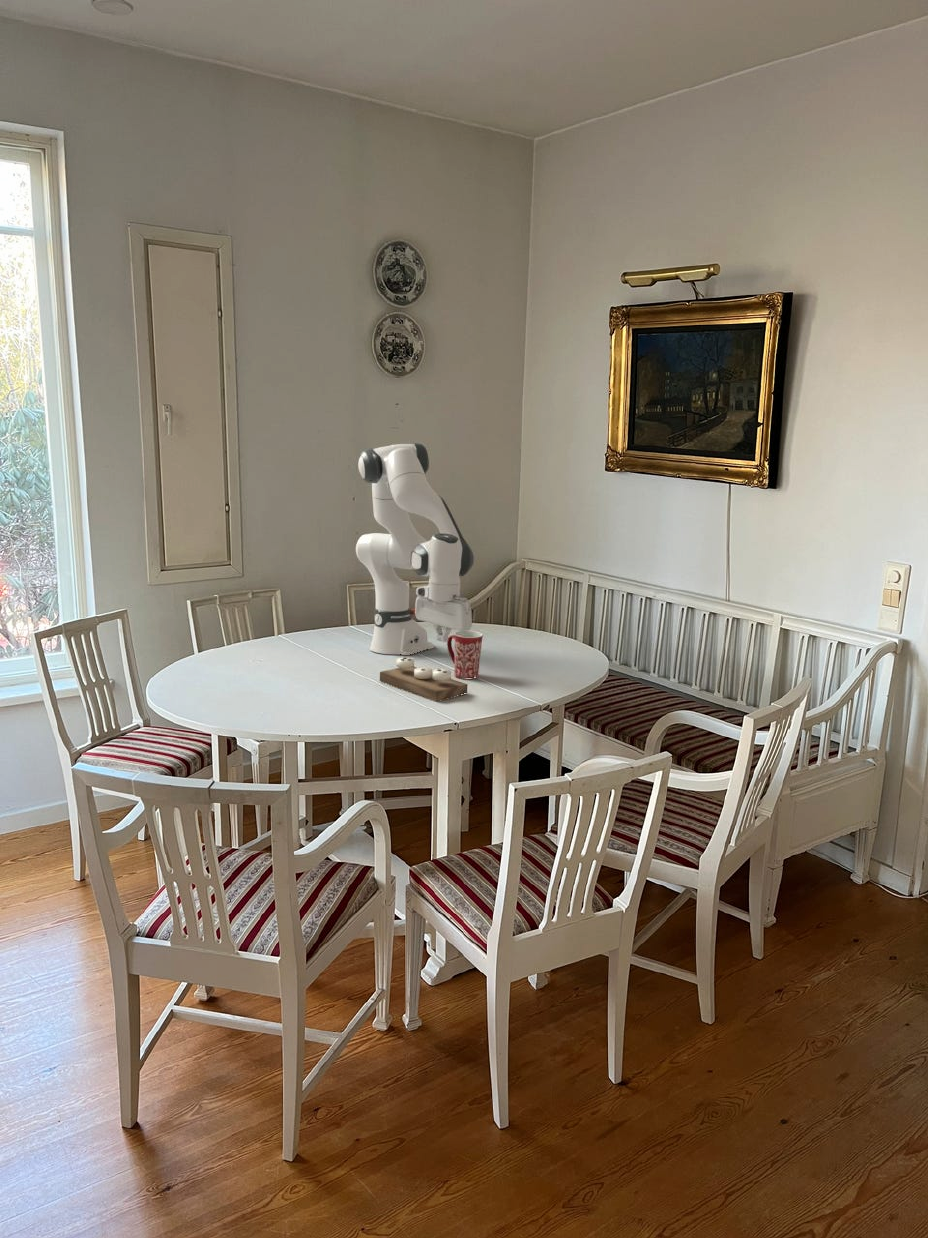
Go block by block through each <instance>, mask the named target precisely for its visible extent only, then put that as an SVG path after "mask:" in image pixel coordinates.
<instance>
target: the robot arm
mask: <svg viewBox="0 0 928 1238" xmlns="http://www.w3.org/2000/svg"><path fill="white" fill-rule="evenodd" d="M357 463H358V465H357V466H358V471H359V474H360V477H361V478H362V480H363V481H365V482H366V483H368V484H369V483H370V484H371V493H372V495H371V496H372V507H373V508H372V509H373V517H374V519H375V521H376V523H378V524H379V525H380V526H382V527H383V528H385V529H386V531H388V533H381V532H373V533H365V534H362V535H361V536H360V537H359V538H358V540H357V542H356V545H355V554H356V558H358V560H359V562H360V563H362V564H363V566H365V568H366V569H367V571H368V572H369V573H370V575H371V578H372V580H373V584H374V591H375V607H374V608H373V620H374V626H373V627H374V628H373V635H372V638H371V639H372V640H371V644H370V646H369V650H370V651H372V652H374V653H378V654H382V655H400V654H401V656H411V655H414V653H415V654H417V652H418V653H421V652H424V651H423V650H425V651H427V650H426V649H428V650H430V649H431V650H432V649H435V644H434V643H433V642H431V641H429V640H428V633H427V630H426V629H425V627H423V626H422V625H421V624H419V623H418V622H417V621H416V620H414V618H413V616H415V618H416V619H417V620H419V621H421V622H425V623H429V624H433V629H434V631H435V633H436V641H440V642H443V643H447V641H448V638H449V636H450V633H451V632H452V630H455V631H467V630H468V631H471V628H472V627H473V626H472V625H473V622H472V621H473V617H472V610H471V603H470V601H469V600H468V598H467V597H465V596H460V595H461V594H460V593H461V578H460V577H464V576H465V575H467V574H468V573H469V571H470V570H471V569H472V568H473V565H474V561H475V559H474V558H475V557H474V553H473V550H472V548H471V546H470V545H469V544H468V543H467V541H466V540H465V538H464V536H463V534H462V533H461V531H460V528H459V526H458V525H457V522H456V520H455V518H454V516H453V514H452V512H451V510H450V508H449V506H448V504H447V503H446V501H445V500H444V498H443V497H442V496H441V495H438V494H437V493H436V491H434V490H433V488H432V487H431V485H430V484H429V482H428V479H427V476H426V474H427V472H428V471H429V468H430V456H429V453H428V450H427V448H426V447H425V446H424V445H423V444H422V443H419V442H417V443H416V442H411V443H399V444H398V443H397V444H391V445H386V446H380V447H376V448H367V449H366V450H363V451H362V452H361V453H360V455H359V458H358V462H357ZM409 513H411V514H414V515H416V516H420V517H424V518H425V519H428V520H429V521H431V522H433V523H434V524H435V526H436V528H437V529H438V531H439V533H435V534H433V535H432V537H431V539H430V540H427V539H426V538H424V537H423V536H422V535H421V534H420V533H419V531H417V529H416V527H415V526H414V525H413V523H412V521H411V517H410V515H409ZM395 569H404V570H413V572H414V573H415V574H417V575H418V576H422V577H429V579H428V584H427V585H424V586H420V587H417V588H415V595H417V596H416V599H415V604H414V605H415V606H414V608H412V609H411V608H410V607H409V606H410V604H409V603H410V587H409V585H408V583H407V582H406V581H405V580H403V579H402V578H401V577H399V576H398V575H397V573H396V571H395ZM420 651H421V652H420ZM410 654H411V655H410Z"/></svg>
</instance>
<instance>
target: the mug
mask: <svg viewBox="0 0 928 1238" xmlns="http://www.w3.org/2000/svg"><path fill="white" fill-rule="evenodd" d="M483 637H484V634H483V633H482V632H479V631H476V630H467V631H459V630H456V631H455V632H453V634H452V635H448V641H447V642H446V646H447V651H448V654H449V657H450V659H451V661H452V663H453V665H454V670H453V671H454V677H455V676H456V678H457V677H458V678H457V679H460V678H474V677H477V676H478V677H479V673H480V672H479V670H480V661H481V653H482V642H483ZM452 640H453V641H454V642H453V641H452ZM452 642H453V644H454V649H453V646H452ZM478 677H477V678H478Z"/></svg>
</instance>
